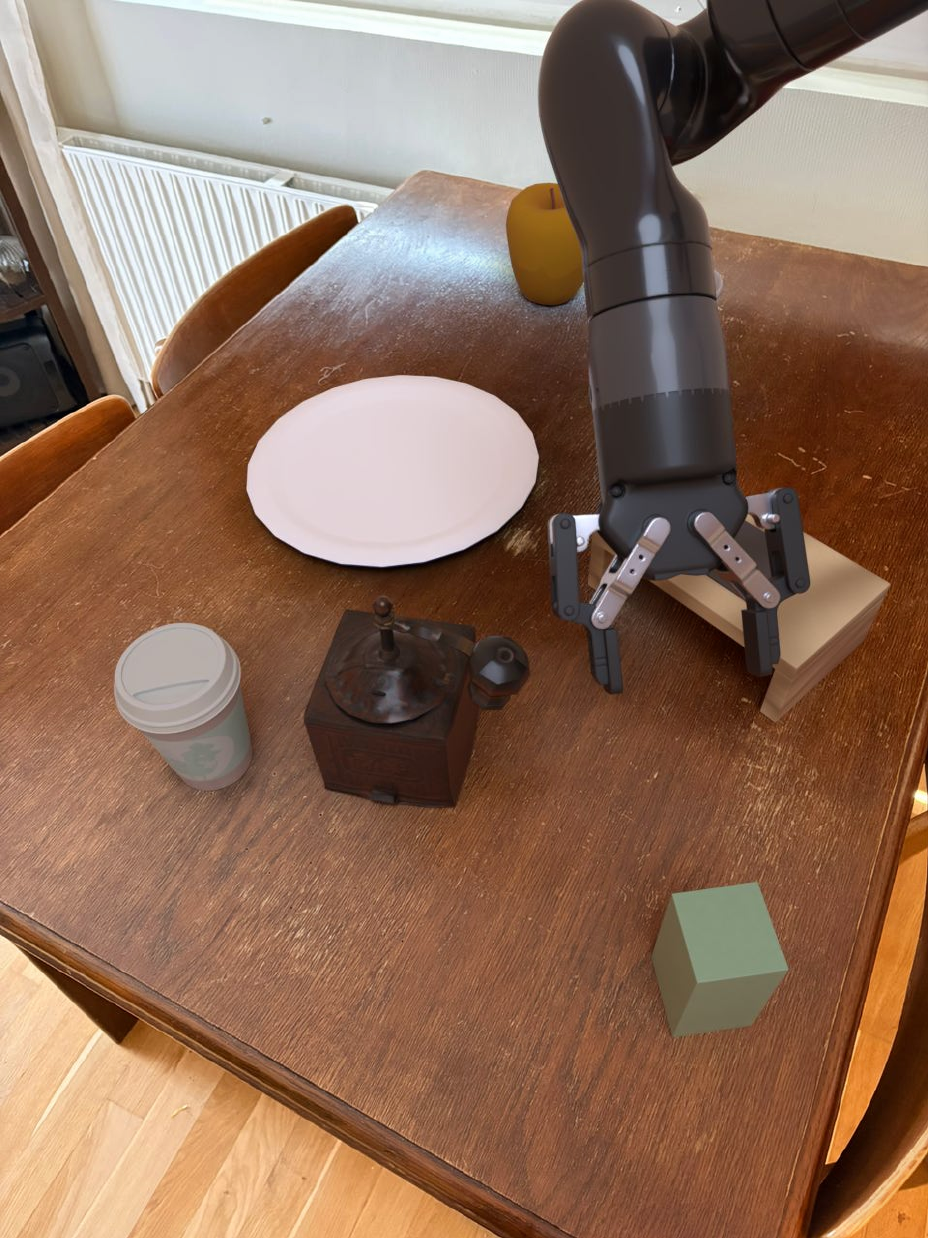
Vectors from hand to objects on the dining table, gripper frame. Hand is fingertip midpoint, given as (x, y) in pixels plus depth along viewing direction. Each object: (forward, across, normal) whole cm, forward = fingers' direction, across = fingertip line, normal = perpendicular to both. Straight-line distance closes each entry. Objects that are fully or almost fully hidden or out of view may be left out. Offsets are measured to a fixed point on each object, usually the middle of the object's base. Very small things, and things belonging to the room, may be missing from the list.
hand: (687, 683), depth 51 cm
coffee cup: (+5, -32, +20) cm, 38 cm away
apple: (-39, +6, +63) cm, 74 cm away
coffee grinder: (+6, -15, +18) cm, 24 cm away
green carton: (+20, 0, +4) cm, 21 cm away
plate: (-17, -16, +42) cm, 48 cm away
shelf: (-1, +11, +25) cm, 28 cm away
